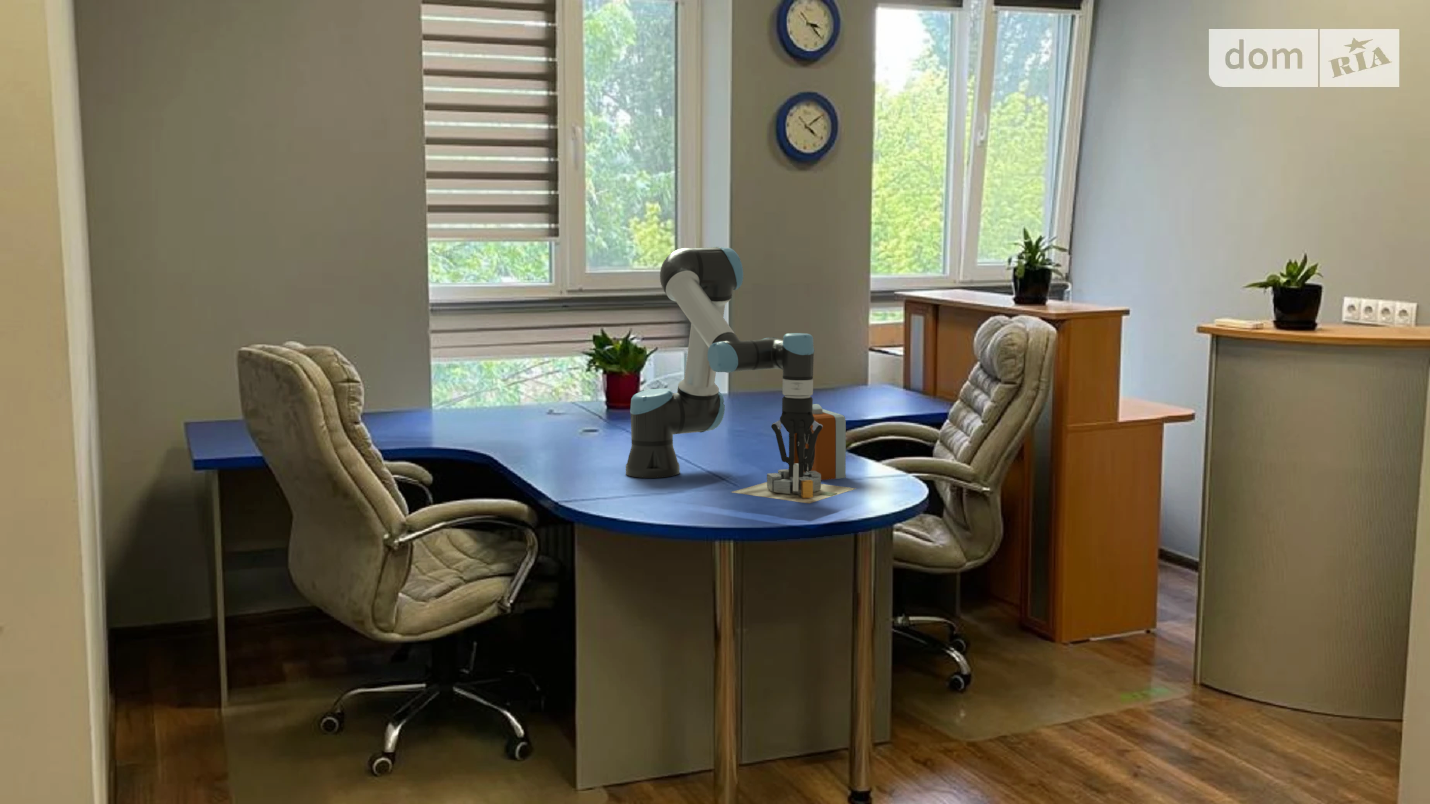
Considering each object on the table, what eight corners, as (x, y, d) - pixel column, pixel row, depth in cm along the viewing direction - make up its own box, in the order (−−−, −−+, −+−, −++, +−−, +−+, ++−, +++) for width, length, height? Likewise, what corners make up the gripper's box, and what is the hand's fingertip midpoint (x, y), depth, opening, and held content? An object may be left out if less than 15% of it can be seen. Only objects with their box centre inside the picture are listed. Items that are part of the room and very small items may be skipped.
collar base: (730, 497, 343) (730, 472, 343) (780, 483, 361) (780, 460, 360) (809, 509, 329) (809, 483, 328) (856, 494, 346) (856, 469, 345)
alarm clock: (788, 474, 375) (788, 400, 372) (817, 471, 378) (817, 399, 375) (817, 486, 358) (816, 409, 355) (846, 483, 361) (846, 407, 358)
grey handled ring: (762, 485, 349) (762, 469, 349) (810, 482, 352) (810, 466, 352) (782, 499, 332) (782, 482, 331) (832, 496, 335) (832, 479, 334)
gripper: (770, 397, 329) (768, 492, 332) (822, 398, 327) (820, 493, 330) (773, 393, 336) (771, 486, 339) (824, 394, 335) (822, 488, 338)
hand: (795, 490), depth 335 cm, fingers closed
